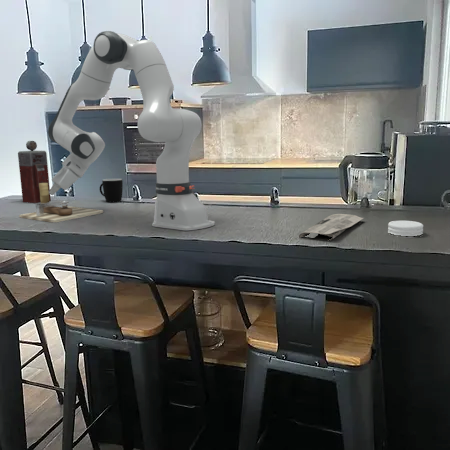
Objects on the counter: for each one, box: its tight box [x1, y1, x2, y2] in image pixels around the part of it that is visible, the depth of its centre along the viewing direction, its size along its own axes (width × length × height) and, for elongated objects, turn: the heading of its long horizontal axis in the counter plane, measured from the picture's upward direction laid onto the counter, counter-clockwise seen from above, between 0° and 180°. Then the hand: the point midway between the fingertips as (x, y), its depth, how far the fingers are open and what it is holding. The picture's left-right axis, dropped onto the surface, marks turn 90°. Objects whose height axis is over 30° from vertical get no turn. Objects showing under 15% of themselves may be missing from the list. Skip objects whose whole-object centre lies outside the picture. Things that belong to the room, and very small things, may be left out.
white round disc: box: [387, 220, 424, 236], centre depth 144 cm, size 10×10×4 cm
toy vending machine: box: [17, 140, 52, 204], centre depth 219 cm, size 9×11×28 cm
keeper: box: [34, 200, 70, 216], centre depth 179 cm, size 10×10×5 cm
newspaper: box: [298, 213, 364, 241], centre depth 152 cm, size 35×12×4 cm, turn 152°
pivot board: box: [18, 205, 104, 223], centre depth 185 cm, size 21×23×1 cm
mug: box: [99, 178, 124, 204], centre depth 218 cm, size 12×9×10 cm
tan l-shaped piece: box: [39, 183, 72, 215], centre depth 182 cm, size 16×5×11 cm, turn 56°
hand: (50, 194), depth 187 cm, fingers closed
